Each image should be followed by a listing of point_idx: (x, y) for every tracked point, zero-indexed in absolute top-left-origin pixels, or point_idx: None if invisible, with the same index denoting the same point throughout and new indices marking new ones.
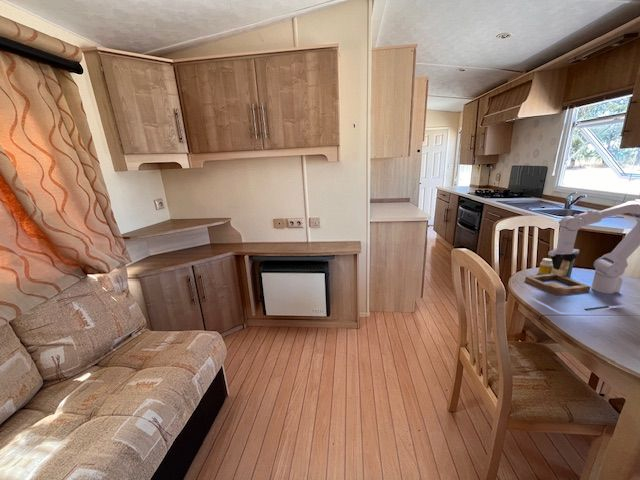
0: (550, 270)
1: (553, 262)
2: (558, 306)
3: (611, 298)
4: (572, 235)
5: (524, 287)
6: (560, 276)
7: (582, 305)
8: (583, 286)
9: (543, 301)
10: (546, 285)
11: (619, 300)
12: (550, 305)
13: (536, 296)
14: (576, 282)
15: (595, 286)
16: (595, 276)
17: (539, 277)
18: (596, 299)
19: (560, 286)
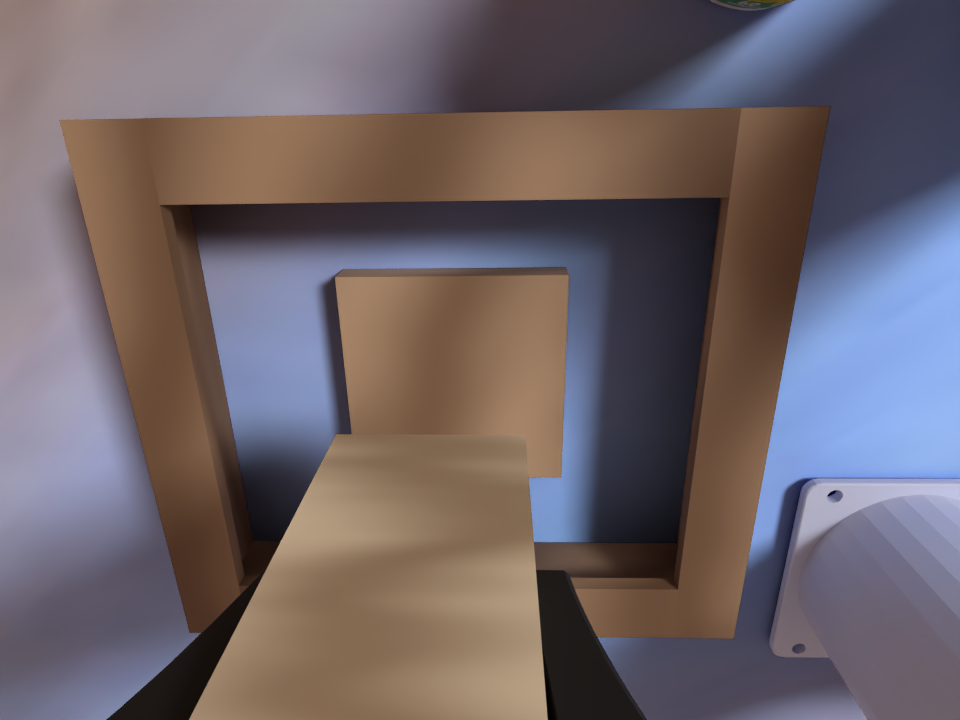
0: None
1: (145, 717)
2: (115, 689)
3: (786, 680)
4: None
5: (29, 278)
6: (718, 276)
7: None
8: (642, 622)
9: (36, 601)
10: (163, 504)
11: (806, 717)
12: (52, 665)
13: (31, 509)
14: (699, 516)
15: (833, 616)
16: (954, 711)
17: (322, 199)
18: (614, 667)
19: (502, 415)
